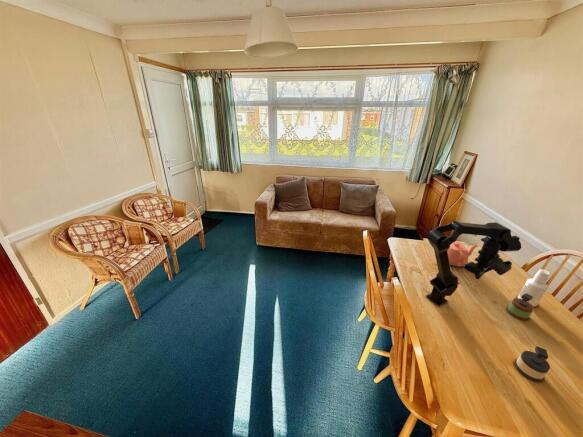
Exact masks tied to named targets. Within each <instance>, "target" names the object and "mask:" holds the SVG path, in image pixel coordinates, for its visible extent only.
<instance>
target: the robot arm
mask: <svg viewBox="0 0 583 437" xmlns="http://www.w3.org/2000/svg"><path fill="white" fill-rule="evenodd" d="M446 232H452V233H451V235H448V236H447V235H446V234H445V233H446ZM462 235H472V236H483V237H482V238H480V241H481V242H483V244H482V246H481V249H480V250H478V251H477V254H478V256H477V257H475V258H474V261H475V262H474V261H468V262H467V264H465V265H464V266H463V269H465V270H466V271H468V272H470V273H472V274H473V275H474V278H475V279H476V280H480V279H481V278H482V277H483V276H484V275H485V274H486V273H488V272H491V271H494V272H496V274H497V275H499V276H502V275H505V274H506V273H508V272H510V271H511V270H512V268H513V267H512V265H513V262H512V261H511V260H504V259H502V258H501V256H500V254H499V252H502V253H503V252H507V253H509V252H519V251H521V249H522V243H521V240H520V239H521V237H519V236H517V235H512V231H511V229H510V228H508V227H506V226H504V225H502V224H501V223H499V222H495V221H494V222H487V223H484V224H480V223H472V222H464V221H463V222H462V221H456V220H453V221H451V222H449V223H447V224H443V225H439V226H436V228H433V229H432V230H430V231H429V232H428V233H427V234H426V239H427V241H428V243H429V244H430V247H432V249H433V252H434V256H435V261H436V266H437V269H438V270H437V271H438V272H437V273H436V276H435V277H433V278H432V279H431V280H429V284H430V285H431V286H432V290H431V293H430V294H428V295H426V298H427V299H428V300H430V301H431V302H432V303H434V304H435V305H436V306H442V305H444V304H445V303H447V302H448V300H447V299H446V297H451V296H452V295H453V294H454V293H455V292H456V290H457V289H458V288H459V285H460V283H459V277H458V276H457V275H456V274H455V273H453V271H452V270H451V265H450V263H449V258H448V253H447V250H448V249H449V248H450V244H452V243H454V242H455V241H456V242H457V240H458V238H459V237H460V236H462Z"/></svg>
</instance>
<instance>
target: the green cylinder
mask: <svg viewBox="0 0 583 437" xmlns="http://www.w3.org/2000/svg"><path fill="white" fill-rule="evenodd" d="M534 309H535V308H534V307H533V306H532V305H531V304H530V303H529V302H525V301H522V300H521V299H519V298H518V297H515V298H512V300H511V302H510V303H509V305H508V307H507V312H508V314H509V315H511V316H513V317H514V318H516V319H518V320H523V321H526V320H528V319H529V317H530V316H531V315H532V313H533V311H534Z"/></svg>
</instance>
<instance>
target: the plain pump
mask: <svg viewBox="0 0 583 437" xmlns="http://www.w3.org/2000/svg"><path fill="white" fill-rule="evenodd" d="M534 351H535V352H534V353H536V356H537V357H538V358H541V359H542V362H543V363H546V361H547V360H548V358H549V354H548V351H547V349H545V348H543V347H541V346H538V345H536V346H535V347H534ZM545 360H546V361H545Z"/></svg>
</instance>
